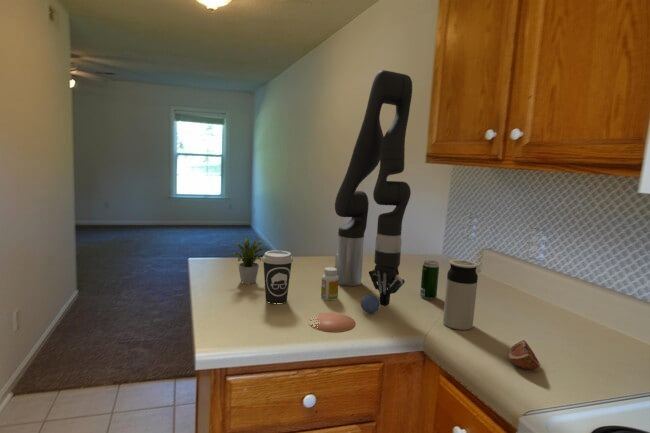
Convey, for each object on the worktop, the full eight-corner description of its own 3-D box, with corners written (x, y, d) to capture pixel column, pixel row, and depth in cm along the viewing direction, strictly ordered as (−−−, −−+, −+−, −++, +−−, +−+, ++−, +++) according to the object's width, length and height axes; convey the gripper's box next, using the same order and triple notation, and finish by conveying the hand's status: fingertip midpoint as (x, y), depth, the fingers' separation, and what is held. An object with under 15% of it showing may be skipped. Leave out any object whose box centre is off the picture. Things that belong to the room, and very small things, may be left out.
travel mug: (468, 333, 113) (475, 268, 110) (439, 325, 117) (445, 262, 114) (475, 323, 119) (481, 262, 117) (447, 317, 124) (453, 257, 121)
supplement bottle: (339, 296, 137) (341, 267, 135) (334, 302, 132) (336, 272, 130) (324, 294, 138) (325, 265, 137) (318, 299, 133) (319, 269, 132)
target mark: (299, 318, 117) (299, 317, 117) (336, 310, 125) (336, 309, 125) (326, 336, 107) (326, 335, 107) (365, 325, 114) (365, 325, 114)
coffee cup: (297, 299, 133) (299, 252, 131) (281, 308, 124) (283, 259, 122) (271, 293, 137) (272, 248, 134) (254, 302, 128) (255, 254, 126)
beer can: (428, 300, 137) (431, 265, 135) (416, 295, 141) (419, 261, 140) (439, 298, 140) (443, 263, 138) (427, 293, 144) (430, 259, 142)
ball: (356, 311, 125) (357, 293, 124) (370, 308, 128) (371, 290, 127) (368, 317, 120) (370, 299, 119) (382, 314, 123) (384, 296, 123)
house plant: (256, 292, 138) (257, 243, 135) (219, 285, 142) (219, 238, 139) (275, 280, 151) (276, 235, 148) (240, 275, 155) (241, 231, 153)
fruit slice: (541, 379, 91) (544, 357, 90) (508, 372, 93) (510, 351, 92) (536, 361, 99) (539, 341, 98) (505, 356, 101) (507, 336, 100)
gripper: (413, 252, 121) (409, 309, 124) (380, 243, 131) (377, 296, 134) (396, 255, 116) (391, 314, 119) (363, 245, 127) (360, 301, 129)
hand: (384, 305), depth 126 cm, fingers closed
